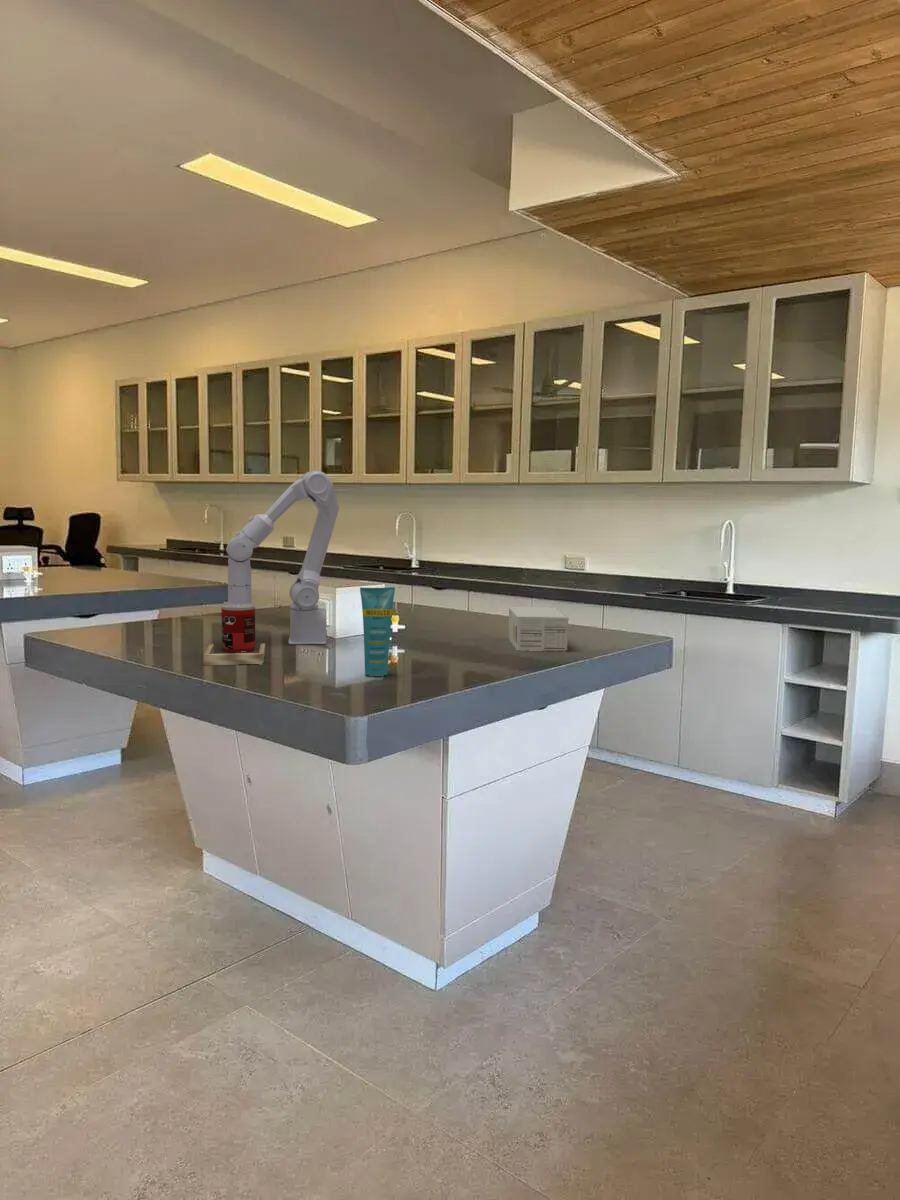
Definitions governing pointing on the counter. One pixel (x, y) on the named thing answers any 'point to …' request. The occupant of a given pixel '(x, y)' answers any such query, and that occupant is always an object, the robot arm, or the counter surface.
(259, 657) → the bracket
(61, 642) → the counter surface
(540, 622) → the supplement box
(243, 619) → the canned food
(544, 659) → the counter surface
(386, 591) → the tube
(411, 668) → the counter surface
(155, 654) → the counter surface
